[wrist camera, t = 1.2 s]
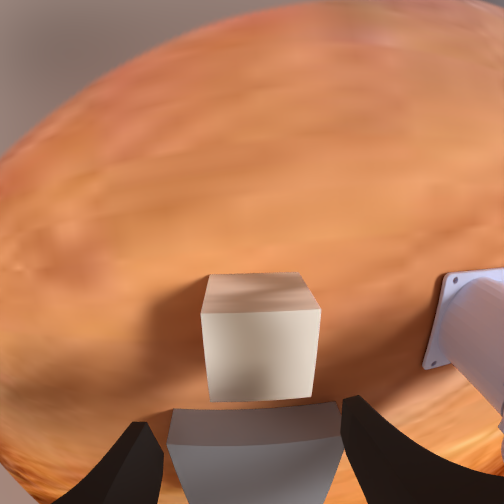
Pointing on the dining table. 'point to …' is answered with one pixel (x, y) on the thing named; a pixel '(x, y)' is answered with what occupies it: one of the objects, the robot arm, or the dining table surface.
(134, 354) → the dining table surface
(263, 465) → the charcoal box
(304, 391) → the birch block
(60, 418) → the dining table surface
